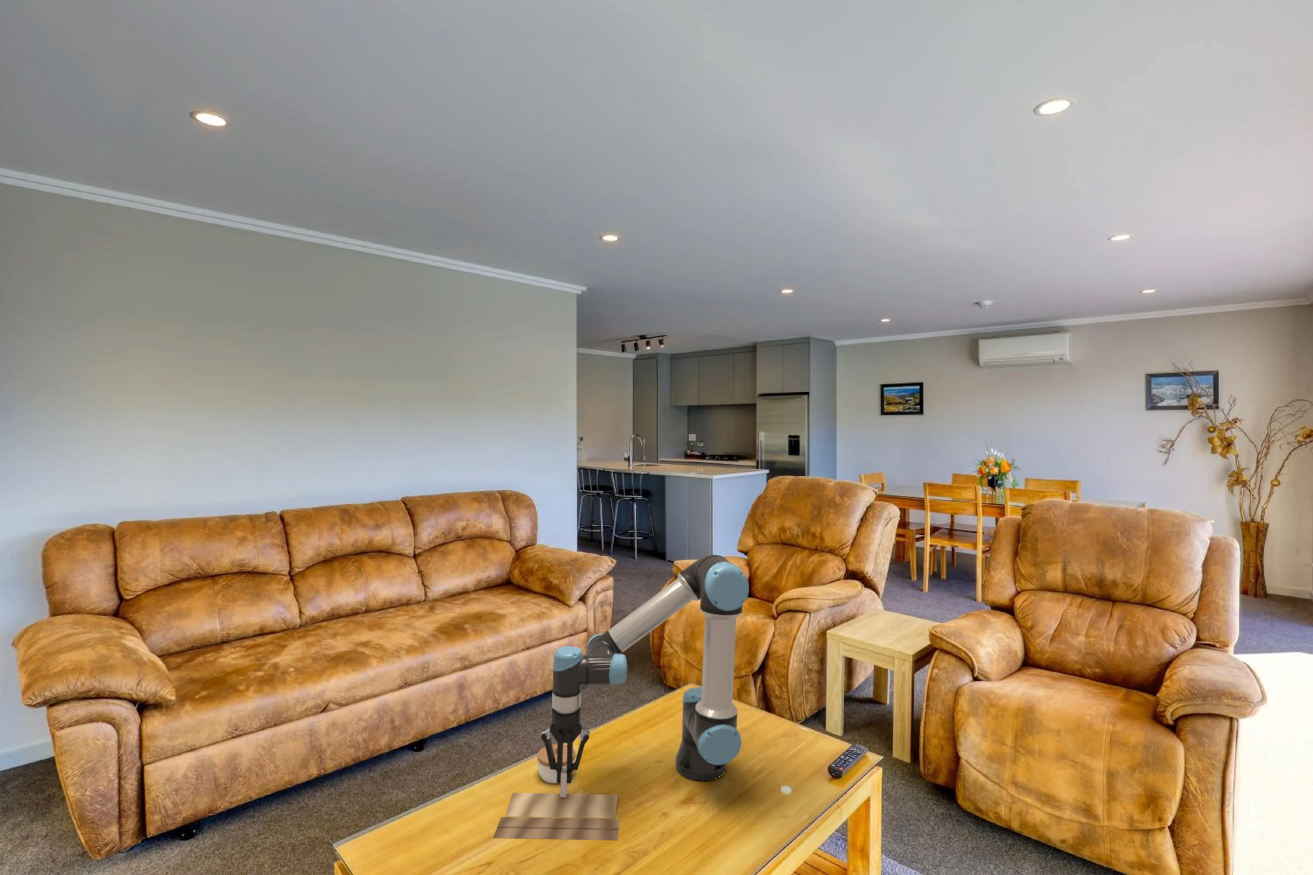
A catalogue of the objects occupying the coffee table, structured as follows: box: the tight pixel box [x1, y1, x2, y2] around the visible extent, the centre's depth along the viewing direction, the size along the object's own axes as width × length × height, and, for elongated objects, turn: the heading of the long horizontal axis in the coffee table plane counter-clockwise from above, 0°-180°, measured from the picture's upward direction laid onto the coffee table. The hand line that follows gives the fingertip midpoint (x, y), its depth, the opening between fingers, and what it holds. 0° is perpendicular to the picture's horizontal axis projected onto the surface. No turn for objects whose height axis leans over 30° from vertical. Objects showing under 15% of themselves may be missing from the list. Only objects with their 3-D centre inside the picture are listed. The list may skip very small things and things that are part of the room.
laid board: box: [492, 816, 620, 841], centre depth 151 cm, size 30×8×2 cm, turn 91°
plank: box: [505, 792, 618, 819], centre depth 160 cm, size 28×8×2 cm, turn 91°
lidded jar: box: [537, 743, 577, 784], centre depth 174 cm, size 11×11×9 cm
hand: (563, 793), depth 163 cm, fingers closed
